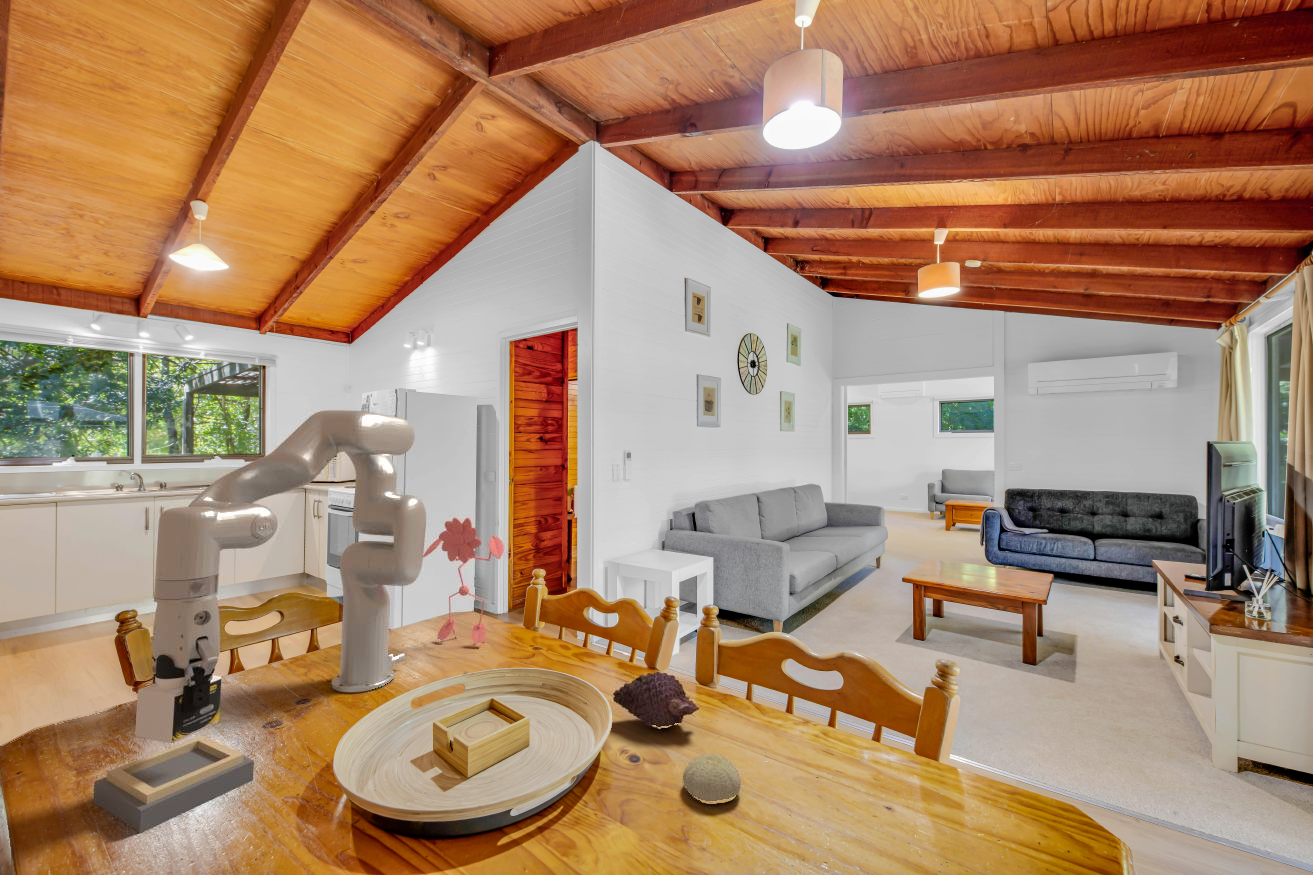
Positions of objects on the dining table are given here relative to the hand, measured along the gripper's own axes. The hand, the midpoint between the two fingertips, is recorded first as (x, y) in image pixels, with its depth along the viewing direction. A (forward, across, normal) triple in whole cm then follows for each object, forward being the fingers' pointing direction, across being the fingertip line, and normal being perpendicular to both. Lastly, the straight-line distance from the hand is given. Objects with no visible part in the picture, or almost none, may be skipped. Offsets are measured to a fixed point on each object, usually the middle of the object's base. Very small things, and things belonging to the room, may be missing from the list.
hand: (180, 702), depth 84 cm
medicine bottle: (+4, 0, 0) cm, 4 cm away
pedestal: (+13, 0, 0) cm, 13 cm away
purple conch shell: (+13, -55, -54) cm, 78 cm away
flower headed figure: (+13, +11, -66) cm, 68 cm away
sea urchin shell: (+14, -72, -39) cm, 83 cm away
